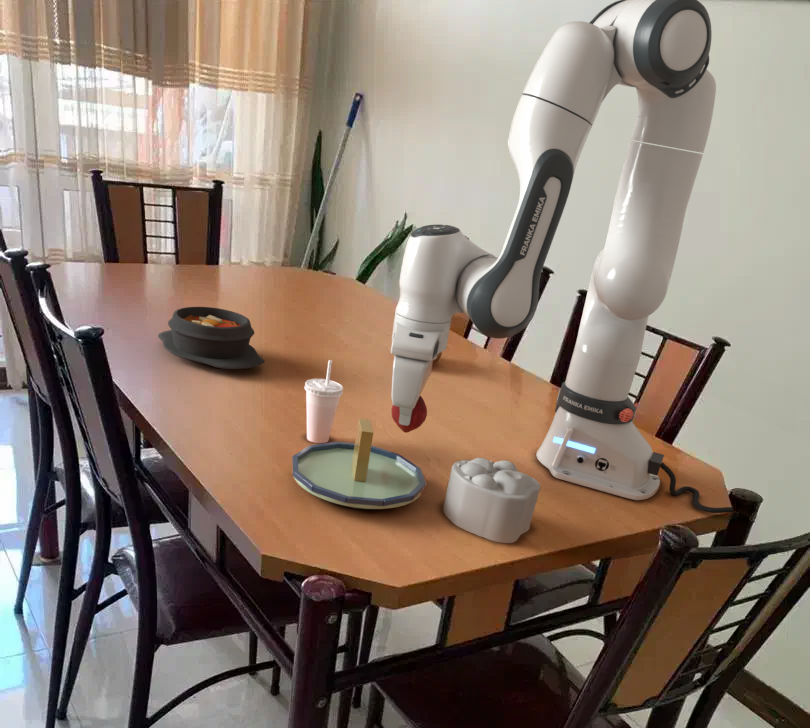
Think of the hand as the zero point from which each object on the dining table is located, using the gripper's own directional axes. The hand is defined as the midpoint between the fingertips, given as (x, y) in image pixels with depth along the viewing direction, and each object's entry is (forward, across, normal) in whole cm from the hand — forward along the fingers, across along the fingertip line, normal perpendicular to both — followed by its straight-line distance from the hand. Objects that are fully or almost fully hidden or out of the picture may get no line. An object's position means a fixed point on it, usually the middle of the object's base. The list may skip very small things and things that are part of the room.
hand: (408, 416), depth 133 cm
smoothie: (+7, 0, -15) cm, 16 cm away
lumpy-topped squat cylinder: (+8, +17, +15) cm, 24 cm away
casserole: (+6, -29, -45) cm, 54 cm away
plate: (+5, +16, -4) cm, 17 cm away
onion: (+3, 0, 0) cm, 3 cm away
